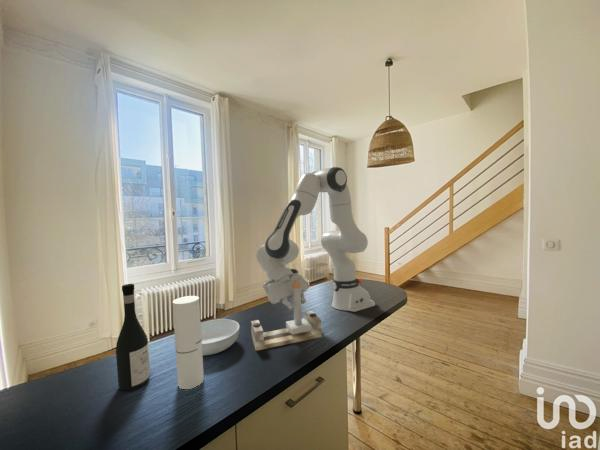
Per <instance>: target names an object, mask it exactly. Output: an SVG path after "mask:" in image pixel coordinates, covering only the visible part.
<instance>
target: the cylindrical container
mask: <svg viewBox="0 0 600 450" xmlns="http://www.w3.org/2000/svg"><path fill="white" fill-rule="evenodd" d="M200 305H201V304H200V297H199V296H198V295H185V296H182V297H181V296H180V297H178V298H176V299H173V300H172V312H173V313H172V314H173V328H174V329H173V330H174V332H173V333H174V343H175V344H174V345H175V346H174V347H175V360H176V363H175V364H176V376H177V386H179V388H182V389H191V388H194V387H196V386H198V385H199V386H201V385H202V384H203V383H204V381H203V380H204V379H205V377H204V376H205V375H204V359H203V358H204V357H203V356H204V355H202V339H201V322H202V321H201V308H200ZM201 383H202V384H201ZM200 384H201V385H200ZM199 386H198V387H199ZM179 388H178V389H179ZM196 388H197V387H196ZM194 389H195V388H194ZM191 390H192V389H191Z"/></svg>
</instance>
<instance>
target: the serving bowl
mask: <svg viewBox="0 0 600 450" xmlns="http://www.w3.org/2000/svg"><path fill="white" fill-rule="evenodd" d="M239 334H240V324H239V322H238V321H236V320H233V319H230V318H229V319H227V318H215V319H211V320H209V319H208V320H205V321H201V339H202V355H203V356H210V355H215V354H218V353H221V352H223V351H225V350H227V349H228V348H230V347H231V346H232V345H233V344H234V343H235V342H236V341H237V339H238V337H239Z"/></svg>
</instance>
